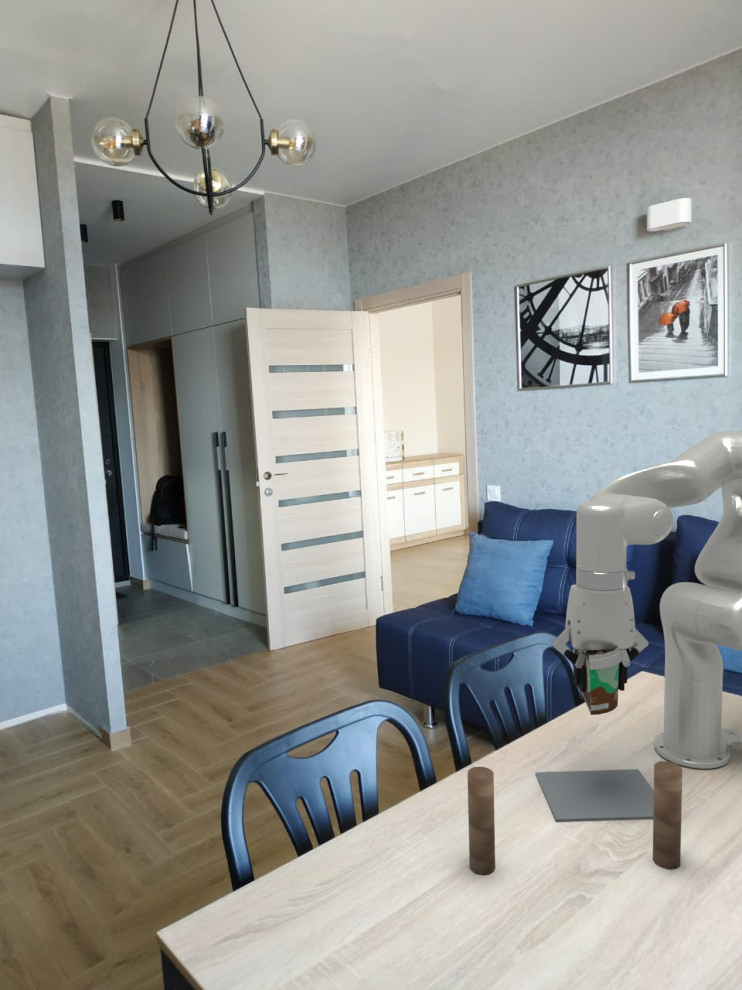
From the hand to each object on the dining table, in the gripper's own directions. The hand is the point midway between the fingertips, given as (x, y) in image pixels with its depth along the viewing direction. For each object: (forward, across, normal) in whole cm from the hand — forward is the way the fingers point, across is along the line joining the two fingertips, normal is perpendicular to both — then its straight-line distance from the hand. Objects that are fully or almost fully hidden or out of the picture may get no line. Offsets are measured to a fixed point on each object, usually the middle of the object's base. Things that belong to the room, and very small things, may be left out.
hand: (600, 686), depth 113 cm
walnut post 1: (+19, +22, +17) cm, 33 cm away
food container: (+3, -1, 0) cm, 3 cm away
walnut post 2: (+19, -4, +17) cm, 26 cm away
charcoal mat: (+19, 0, 0) cm, 19 cm away
